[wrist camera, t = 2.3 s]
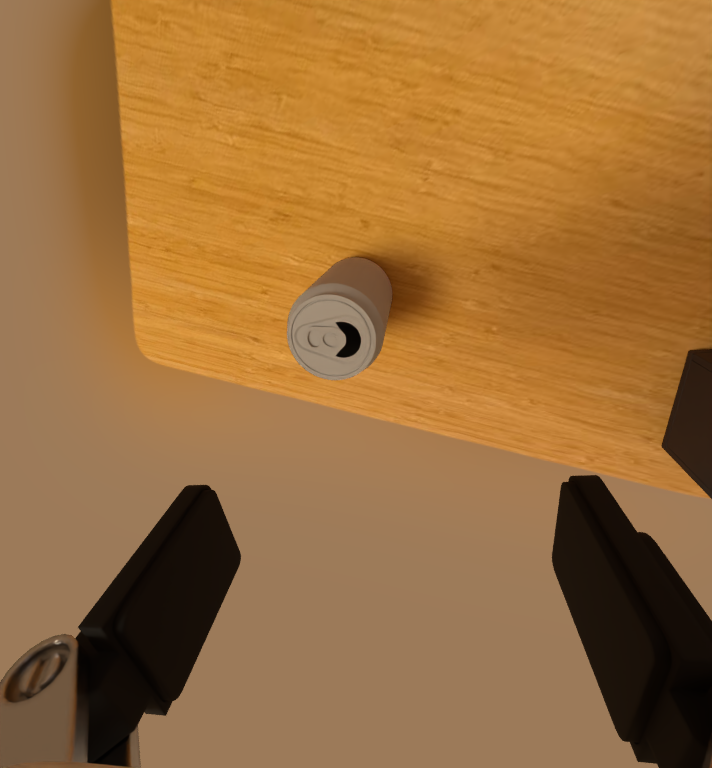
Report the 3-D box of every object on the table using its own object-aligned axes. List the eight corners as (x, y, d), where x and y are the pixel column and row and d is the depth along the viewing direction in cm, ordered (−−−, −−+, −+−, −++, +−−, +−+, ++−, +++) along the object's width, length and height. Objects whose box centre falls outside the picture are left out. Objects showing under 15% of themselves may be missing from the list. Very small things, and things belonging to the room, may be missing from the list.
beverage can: (390, 328, 34) (380, 390, 24) (322, 324, 35) (284, 381, 25) (395, 257, 32) (385, 291, 21) (321, 254, 32) (276, 285, 22)
